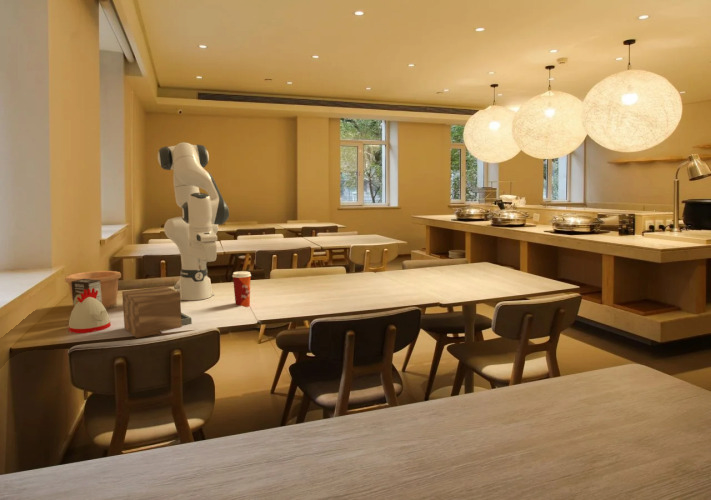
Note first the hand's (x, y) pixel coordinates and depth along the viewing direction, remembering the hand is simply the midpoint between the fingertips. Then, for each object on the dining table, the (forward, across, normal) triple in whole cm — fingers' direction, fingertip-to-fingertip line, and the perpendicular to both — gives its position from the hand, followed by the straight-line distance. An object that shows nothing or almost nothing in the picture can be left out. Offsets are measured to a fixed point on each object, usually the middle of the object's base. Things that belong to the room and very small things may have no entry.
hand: (202, 269), depth 195 cm
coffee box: (+21, -29, -36) cm, 51 cm away
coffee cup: (+21, -10, +22) cm, 32 cm away
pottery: (+22, -51, -29) cm, 63 cm away
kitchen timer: (+21, -16, -38) cm, 46 cm away
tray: (+20, +1, -15) cm, 25 cm away
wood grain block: (+20, +1, -20) cm, 28 cm away
